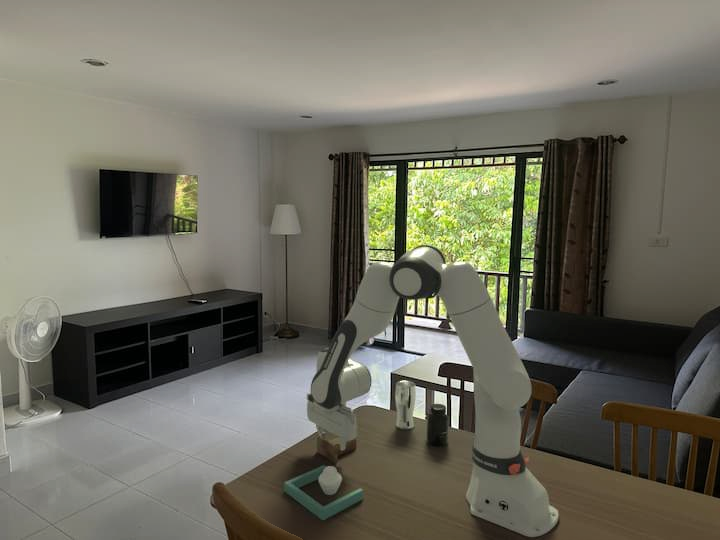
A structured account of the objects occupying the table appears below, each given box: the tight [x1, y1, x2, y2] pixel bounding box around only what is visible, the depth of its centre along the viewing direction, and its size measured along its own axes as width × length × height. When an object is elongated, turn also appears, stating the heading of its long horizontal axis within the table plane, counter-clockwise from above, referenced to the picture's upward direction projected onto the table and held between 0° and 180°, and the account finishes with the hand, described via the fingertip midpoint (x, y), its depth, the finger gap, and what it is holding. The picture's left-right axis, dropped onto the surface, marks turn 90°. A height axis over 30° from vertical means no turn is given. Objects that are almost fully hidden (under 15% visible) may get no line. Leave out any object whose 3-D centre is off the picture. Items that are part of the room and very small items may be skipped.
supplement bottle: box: [426, 403, 450, 447], centre depth 156 cm, size 7×7×12 cm
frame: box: [283, 464, 364, 521], centre depth 127 cm, size 16×13×2 cm
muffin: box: [317, 465, 343, 496], centre depth 128 cm, size 6×6×7 cm
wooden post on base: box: [316, 435, 357, 464], centre depth 150 cm, size 9×11×5 cm
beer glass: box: [394, 380, 417, 431], centre depth 168 cm, size 7×7×15 cm
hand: (331, 443), depth 147 cm, fingers open, 8 cm apart
